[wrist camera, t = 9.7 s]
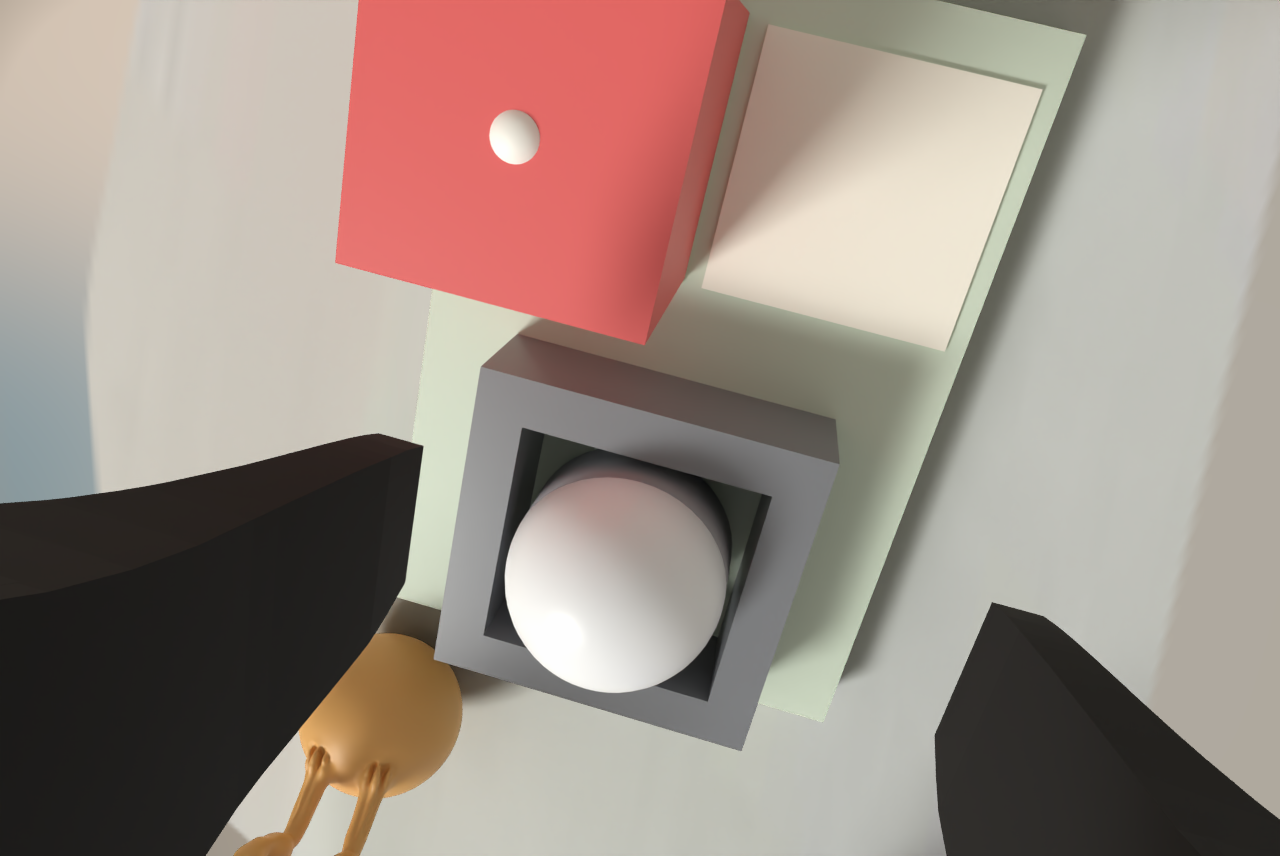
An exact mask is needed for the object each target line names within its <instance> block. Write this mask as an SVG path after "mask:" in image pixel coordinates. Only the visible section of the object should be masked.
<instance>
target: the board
mask: <svg viewBox="0 0 1280 856" xmlns="http://www.w3.org/2000/svg"><path fill="white" fill-rule="evenodd" d="M740 2H741V3H742V4H743V5H744V7H745V8H746V9H747V10H748V11H749V13H750V14H749V18H748V22H747V26H746V30H745V34H744V38H743V42H742V47H741V51H740V55H739V59H738V63H737V67H736V71H735V75H734V79H733V83H732V87H731V91H730V95H729V99H728V104H727V108H726V112H725V116H724V120H723V124H722V128H721V132H720V136H719V140H718V144H717V148H716V152H715V156H714V160H713V165H712V169H711V173H710V177H709V181H708V185H707V189H706V193H705V197H704V201H703V205H702V209H701V213H700V217H699V222H698V226H697V230H696V234H695V238H694V242H693V246H692V250H691V254H690V258H689V262H688V266H687V270H686V274H685V278H684V280H683V282H682V283H681V285H680V287H679V288H678V290H677V292H676V293H675V295H674V297H673V299H672V300H671V302H670V304H669V305H668V307H667V309H666V310H665V312H664V314H663V315H662V317H661V319H660V320H659V322H658V324H657V325H656V327H655V329H654V331H653V332H652V334H651V336H650V337H649V339H648V341H647V342H646V344H645V345H641V344H637V343H634V342H630V341H626V340H622V339H619V338H615V337H611V336H607V335H604V334H600V333H596V332H592V331H589V330H585V329H581V328H577V327H574V326H570V325H566V324H563V323H559V322H555V321H551V320H548V319H544V318H540V317H536V316H533V315H529V314H525V313H521V312H518V311H514V310H510V309H506V308H503V307H499V306H495V305H491V304H488V303H484V302H480V301H476V300H473V299H469V298H465V297H462V296H458V295H454V294H450V293H447V292H443V291H439V290H435V289H432V295H431V302H430V310H429V317H428V325H427V332H426V340H425V347H424V354H423V362H422V369H421V377H420V384H419V392H418V399H417V407H416V414H415V422H414V429H413V437H412V443H415V444H419V445H422V446H424V448H423V455H422V463H421V470H420V477H419V485H418V492H417V500H416V507H415V514H414V522H413V529H412V537H411V544H410V551H409V559H408V566H407V573H406V581H405V584H404V586H403V588H402V589H401V591H400V593H399V594H398V596H397V597H398V598H401V599H404V600H408V601H411V602H415V603H418V604H421V605H425V606H428V607H432V608H435V609H438V610H442V604H443V597H444V591H445V585H446V579H447V573H448V566H449V560H450V554H451V548H452V542H453V535H454V529H455V523H456V517H457V511H458V504H459V498H460V492H461V486H462V479H463V473H464V467H465V461H466V455H467V448H468V442H469V436H470V430H471V424H472V417H473V411H474V405H475V399H476V393H477V386H478V380H479V374H480V368H481V366H482V365H483V364H484V363H485V362H486V361H487V360H489V359H490V358H491V357H492V356H493V355H494V354H495V353H496V352H498V351H499V350H500V349H501V348H502V347H503V346H504V345H505V344H506V343H508V342H509V341H510V340H511V339H512V338H513V337H514V336H515V335H516V334H520V335H524V336H528V337H531V338H535V339H539V340H543V341H546V342H550V343H554V344H557V345H561V346H565V347H569V348H572V349H576V350H580V351H583V352H587V353H591V354H595V355H598V356H602V357H606V358H609V359H613V360H617V361H621V362H624V363H628V364H632V365H635V366H639V367H643V368H647V369H650V370H654V371H658V372H661V373H665V374H669V375H673V376H676V377H680V378H684V379H687V380H691V381H695V382H699V383H702V384H706V385H710V386H713V387H717V388H721V389H725V390H728V391H732V392H736V393H740V394H743V395H747V396H751V397H754V398H758V399H762V400H766V401H769V402H773V403H777V404H780V405H784V406H788V407H792V408H795V409H799V410H803V411H806V412H810V413H814V414H818V415H821V416H825V417H829V418H832V419H836V429H837V440H838V450H839V461H840V465H839V468H838V471H837V474H836V477H835V480H834V483H833V486H832V489H831V492H830V495H829V497H828V500H827V503H826V506H825V509H824V512H823V515H822V518H821V521H820V524H819V527H818V529H817V532H816V535H815V538H814V541H813V544H812V547H811V550H810V553H809V556H808V559H807V562H806V564H805V567H804V570H803V573H802V576H801V579H800V582H799V585H798V588H797V591H796V594H795V596H794V599H793V602H792V605H791V608H790V611H789V614H788V617H787V620H786V623H785V626H784V629H783V631H782V634H781V637H780V640H779V643H778V646H777V649H776V652H775V655H774V658H773V661H772V663H771V666H770V669H769V672H768V675H767V678H766V681H765V684H764V687H763V690H762V693H761V696H760V698H759V701H758V704H762V705H765V706H768V707H772V708H775V709H779V710H782V711H785V712H789V713H792V714H796V715H799V716H802V717H806V718H809V719H813V720H816V721H819V722H824V719H825V716H826V714H827V711H828V709H829V706H830V703H831V701H832V698H833V696H834V693H835V690H836V688H837V685H838V683H839V680H840V677H841V675H842V672H843V669H844V667H845V664H846V662H847V659H848V656H849V654H850V651H851V649H852V646H853V643H854V641H855V638H856V636H857V633H858V630H859V628H860V625H861V623H862V620H863V617H864V615H865V612H866V609H867V607H868V604H869V602H870V599H871V596H872V594H873V591H874V589H875V586H876V583H877V581H878V578H879V576H880V573H881V570H882V568H883V565H884V562H885V560H886V557H887V555H888V552H889V549H890V547H891V544H892V542H893V539H894V536H895V534H896V531H897V529H898V526H899V523H900V521H901V518H902V516H903V513H904V510H905V508H906V505H907V502H908V500H909V497H910V495H911V492H912V489H913V487H914V484H915V482H916V479H917V476H918V474H919V471H920V469H921V466H922V463H923V461H924V458H925V455H926V453H927V450H928V448H929V445H930V442H931V440H932V437H933V435H934V432H935V429H936V427H937V424H938V422H939V419H940V416H941V414H942V411H943V409H944V406H945V403H946V401H947V398H948V395H949V393H950V390H951V388H952V385H953V382H954V380H955V377H956V375H957V372H958V369H959V367H960V364H961V362H962V359H963V356H964V354H965V351H966V348H967V346H968V343H969V341H970V338H971V335H972V333H973V330H974V328H975V325H976V322H977V320H978V317H979V315H980V312H981V309H982V307H983V304H984V302H985V299H986V296H987V294H988V291H989V288H990V286H991V283H992V281H993V278H994V275H995V273H996V270H997V268H998V265H999V262H1000V260H1001V257H1002V255H1003V252H1004V249H1005V247H1006V244H1007V242H1008V239H1009V236H1010V234H1011V231H1012V228H1013V226H1014V223H1015V221H1016V218H1017V215H1018V213H1019V210H1020V208H1021V205H1022V202H1023V200H1024V197H1025V195H1026V192H1027V189H1028V187H1029V184H1030V181H1031V179H1032V176H1033V174H1034V171H1035V168H1036V166H1037V163H1038V161H1039V158H1040V155H1041V153H1042V150H1043V148H1044V145H1045V142H1046V140H1047V137H1048V135H1049V132H1050V129H1051V127H1052V124H1053V121H1054V119H1055V116H1056V114H1057V111H1058V108H1059V106H1060V103H1061V101H1062V98H1063V95H1064V93H1065V90H1066V88H1067V85H1068V82H1069V80H1070V77H1071V74H1072V72H1073V69H1074V67H1075V64H1076V61H1077V59H1078V56H1079V54H1080V51H1081V48H1082V46H1083V43H1084V41H1085V38H1086V35H1085V34H1080V33H1076V32H1072V31H1068V30H1063V29H1059V28H1055V27H1050V26H1046V25H1042V24H1038V23H1033V22H1029V21H1025V20H1020V19H1016V18H1012V17H1008V16H1003V15H999V14H995V13H990V12H986V11H982V10H977V9H973V8H969V7H965V6H960V5H956V4H952V3H947V2H943V1H939V0H740ZM596 449H598V448H595V447H591V446H587V445H584V444H580V443H576V442H573V441H569V440H566V439H562V438H558V437H555V436H551V435H548V434H544V439H543V444H542V449H541V454H540V459H539V464H538V469H537V474H536V479H535V484H534V490H533V495H532V500H531V505H530V507H531V506H532V504H533V503H534V501H535V499H536V498H537V496H538V495H539V493H540V492H541V490H542V488H543V487H544V485H545V484H546V482H547V481H548V480H549V478H550V477H551V476H552V475H553V474H554V473H555V472H556V471H557V470H558V469H559V468H560V467H562V466H563V465H564V464H565V463H567V462H569V461H570V460H572V459H573V458H575V457H577V456H579V455H582V454H584V453H586V452H589V451H593V450H596ZM701 478H702V479H703V480H704V481H705V482H706V483H707V484H708V485H709V486H710V487H711V489H712V490H713V491H714V493H715V494H716V495H717V497H718V498H719V500H720V502H721V504H722V506H723V508H724V510H725V513H726V515H727V518H728V520H729V525H730V529H731V535H732V556H731V563H730V570H729V576H728V583H727V590H726V596H725V601H724V605H723V610H722V613H721V617H720V619H719V622H718V624H717V627H716V629H715V631H714V632H713V634H712V636H716V637H718V635H719V631H720V628H721V625H722V622H723V619H724V615H725V612H726V609H727V606H728V602H729V599H730V596H731V593H732V589H733V586H734V583H735V580H736V577H737V573H738V570H739V567H740V564H741V560H742V557H743V554H744V551H745V548H746V544H747V541H748V538H749V535H750V531H751V528H752V525H753V522H754V518H755V515H756V512H757V509H758V506H759V502H760V499H761V496H762V494H761V493H757V492H754V491H750V490H746V489H743V488H739V487H735V486H732V485H728V484H725V483H721V482H717V481H714V480H710V479H707V478H703V477H701Z"/></svg>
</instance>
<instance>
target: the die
mask: <svg viewBox="0 0 1280 856" xmlns="http://www.w3.org/2000/svg"><path fill="white" fill-rule="evenodd" d="M749 14H750V13H749V11H748V10H747V9H746V8H745V7H744V5H743V4H742V3H741V2H740V0H359V3H358V14H357V26H356V37H355V48H354V59H353V70H352V82H351V93H350V104H349V115H348V126H347V137H346V149H345V160H344V171H343V182H342V193H341V204H340V216H339V227H338V238H337V249H336V260H335V263H338V264H342V265H346V266H349V267H353V268H357V269H360V270H364V271H368V272H372V273H375V274H379V275H383V276H387V277H390V278H394V279H398V280H402V281H405V282H409V283H413V284H417V285H420V286H424V287H428V288H432V289H435V290H439V291H443V292H447V293H450V294H454V295H458V296H462V297H465V298H469V299H473V300H476V301H480V302H484V303H488V304H491V305H495V306H499V307H503V308H506V309H510V310H514V311H518V312H521V313H525V314H529V315H533V316H536V317H540V318H544V319H548V320H551V321H555V322H559V323H563V324H566V325H570V326H574V327H577V328H581V329H585V330H589V331H592V332H596V333H600V334H604V335H607V336H611V337H615V338H619V339H622V340H626V341H630V342H634V343H637V344H641V345H645V344H646V342H647V341H648V339H649V337H650V336H651V334H652V332H653V331H654V329H655V327H656V325H657V324H658V322H659V320H660V319H661V317H662V315H663V314H664V312H665V310H666V309H667V307H668V305H669V304H670V302H671V300H672V299H673V297H674V295H675V293H676V292H677V290H678V288H679V287H680V285H681V283H682V282H683V280H684V278H685V274H686V270H687V266H688V262H689V258H690V254H691V250H692V246H693V242H694V238H695V234H696V230H697V226H698V222H699V217H700V213H701V209H702V205H703V201H704V197H705V193H706V189H707V185H708V181H709V177H710V173H711V169H712V165H713V160H714V156H715V152H716V148H717V144H718V140H719V136H720V132H721V128H722V124H723V120H724V116H725V112H726V108H727V104H728V99H729V95H730V91H731V87H732V83H733V79H734V75H735V71H736V67H737V63H738V59H739V55H740V51H741V47H742V42H743V38H744V34H745V30H746V26H747V22H748V18H749Z"/></svg>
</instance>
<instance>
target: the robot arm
mask: <svg viewBox="0 0 1280 856" xmlns="http://www.w3.org/2000/svg"><path fill="white" fill-rule="evenodd" d="M423 448H424V446H422V445H419V444H415V443H411V442H408V441H404V440H400V439H397V438H393V437H390V436H386V435H382V434H379V433H378V434H370V435H363V436H358V437H353V438H348V439H344V440H340V441H336V442H332V443H328V444H324V445H320V446H316V447H312V448H309V449H305V450H301V451H297V452H293V453H289V454H286V455H282V456H278V457H274V458H270V459H266V460H263V461H259V462H255V463H251V464H247V465H243V466H239V467H234V468H230V469H225V470H221V471H216V472H212V473H207V474H203V475H198V476H194V477H189V478H185V479H180V480H175V481H171V482H166V483H161V484H156V485H150V486H145V487H139V488H133V489H127V490H121V491H114V492H107V493H99V494H92V495H85V496H78V497H70V498H62V499H52V500H42V501H28V502H15V503H2V504H0V856H206V854H207V853H208V851H209V850H210V848H211V847H212V845H213V844H214V842H215V841H216V839H217V837H218V836H219V834H220V833H221V831H222V830H223V828H224V827H225V825H226V824H227V822H228V821H229V819H230V818H231V816H232V815H233V813H234V812H235V810H236V809H237V807H238V806H239V805H240V803H241V802H242V801H243V799H244V798H245V797H246V795H247V794H248V793H249V791H250V790H251V789H252V787H253V786H254V785H255V783H256V782H257V781H258V779H259V778H260V777H261V775H262V774H263V773H264V772H265V771H266V769H267V768H268V767H269V766H270V764H271V763H272V762H273V761H274V760H275V758H276V757H277V756H278V755H279V753H280V752H281V751H282V750H283V749H284V747H285V746H286V745H287V744H288V742H289V741H290V740H291V739H292V738H293V736H294V735H295V734H296V733H297V732H298V730H299V729H300V728H301V727H302V725H303V724H304V723H305V722H306V721H307V719H308V718H309V717H310V716H311V715H312V713H313V712H314V711H315V710H316V708H317V707H318V706H319V705H320V704H321V702H322V701H323V700H324V699H325V697H326V696H327V695H328V694H329V693H330V691H331V690H332V689H333V688H334V686H335V685H336V684H337V683H338V682H339V680H340V679H341V678H342V677H343V675H344V674H345V673H346V672H347V670H348V669H349V668H350V667H351V665H352V664H353V663H354V662H355V660H356V659H357V658H358V657H359V655H360V654H361V653H362V652H363V650H364V649H365V648H366V646H367V645H368V644H369V643H370V641H371V639H372V638H373V636H374V634H375V633H376V631H377V630H378V628H379V626H380V625H381V623H382V622H383V620H384V618H385V617H386V615H387V613H388V612H389V610H390V608H391V606H392V605H393V603H394V601H395V600H396V598H397V596H398V594H399V593H400V591H401V589H402V588H403V586H404V584H405V581H406V573H407V566H408V559H409V551H410V544H411V537H412V529H413V522H414V514H415V507H416V500H417V492H418V485H419V477H420V470H421V463H422V455H423ZM935 759H936V783H937V797H938V811H939V817H940V823H941V828H942V834H943V839H944V844H945V849H946V854H947V856H1280V819H1278V818H1277V817H1276V816H1274V815H1273V814H1272V813H1271V812H1269V811H1268V810H1267V809H1266V808H1264V807H1263V806H1262V805H1260V804H1259V803H1258V802H1257V801H1255V800H1254V799H1253V798H1252V797H1251V796H1249V795H1248V794H1247V793H1246V792H1245V791H1243V790H1242V789H1241V788H1240V787H1239V786H1237V785H1236V784H1235V783H1234V782H1233V781H1231V780H1230V779H1229V778H1228V777H1227V776H1225V775H1224V774H1223V773H1222V772H1221V771H1219V770H1218V769H1217V768H1216V767H1215V766H1213V765H1212V764H1211V763H1210V762H1209V761H1208V760H1206V759H1205V758H1204V757H1203V756H1202V755H1201V754H1199V753H1198V752H1197V751H1196V750H1195V749H1194V748H1193V747H1191V746H1190V745H1189V744H1188V743H1187V742H1186V741H1185V740H1183V739H1182V738H1181V737H1180V736H1179V735H1178V734H1177V733H1175V732H1174V731H1173V730H1172V729H1171V728H1170V727H1169V726H1168V725H1167V724H1165V723H1164V722H1163V721H1162V720H1161V719H1160V718H1159V717H1158V716H1157V715H1155V714H1154V713H1153V712H1152V711H1151V710H1150V709H1149V708H1148V707H1147V706H1146V705H1145V704H1143V703H1142V702H1141V701H1140V700H1139V699H1138V698H1137V697H1136V696H1135V695H1134V694H1133V693H1131V692H1130V691H1129V690H1128V689H1127V688H1126V687H1125V686H1124V685H1123V684H1122V683H1121V682H1120V681H1118V680H1117V679H1116V678H1115V677H1114V676H1113V675H1112V674H1111V673H1110V672H1109V671H1108V670H1107V669H1105V668H1104V667H1103V666H1102V665H1101V664H1100V663H1099V662H1098V661H1097V660H1096V659H1095V658H1094V657H1092V656H1091V655H1090V654H1089V653H1088V652H1087V651H1086V650H1085V649H1083V648H1082V647H1081V646H1080V645H1079V644H1078V643H1077V642H1076V641H1074V640H1073V639H1072V638H1071V637H1070V636H1069V635H1067V634H1066V633H1065V632H1064V631H1063V630H1061V629H1060V628H1059V627H1058V626H1056V625H1055V624H1054V623H1052V622H1051V621H1049V620H1048V619H1047V618H1045V617H1044V616H1040V615H1037V614H1033V613H1029V612H1026V611H1022V610H1019V609H1015V608H1011V607H1008V606H1004V605H1000V604H997V603H993V602H992V604H991V606H990V609H989V611H988V613H987V615H986V618H985V620H984V622H983V625H982V627H981V629H980V632H979V634H978V636H977V639H976V641H975V643H974V646H973V648H972V650H971V652H970V655H969V657H968V659H967V662H966V664H965V666H964V669H963V671H962V673H961V676H960V678H959V680H958V683H957V685H956V687H955V689H954V692H953V694H952V696H951V699H950V701H949V703H948V706H947V708H946V710H945V713H944V715H943V717H942V720H941V722H940V724H939V726H938V729H937V731H936V733H935Z"/></svg>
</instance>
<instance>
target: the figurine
mask: <svg viewBox="0 0 1280 856" xmlns="http://www.w3.org/2000/svg"><path fill="white" fill-rule="evenodd" d="M434 653H435V649H433V648H432V647H431V646H429V645H428V644H426V643H424V642H422V641H420V640H418V639H416V638H413V637H410V636H406V635H402V634H394V633H380V634H374V636H373V638H372V639H371V641H370V643H369V644H368V645H367V646H366V648H365V649H364V650H363V652H362V653H361V654H360V655H359V657H358V658H357V659H356V660H355V662H354V663H353V664H352V665H351V667H350V668H349V669H348V670H347V672H346V673H345V674H344V675H343V677H342V678H341V679H340V680H339V682H338V683H337V684H336V685H335V686H334V688H333V689H332V690H331V691H330V693H329V694H328V695H327V696H326V697H325V699H324V700H323V701H322V702H321V704H320V705H319V706H318V707H317V708H316V710H315V711H314V712H313V713H312V715H311V716H310V717H309V718H308V719H307V721H306V722H305V723H304V724H303V725H302V727H301V728H300V729H299V735H300V741H301V744H302V748H303V751H304V753H305V755H306V757H307V759H306V762H305V768H306V774H305V779H304V783H303V786H302V788H301V791H300V793H299V796H298V798H297V801H296V803H295V806H294V808H293V811H292V813H291V816H290V819H289V821H288V824H287V826H286V829H285V831H284V833H279V832H276V833H270V834H267V835H265V836H264V837H257V838H255V839H253V840H252V841H250V842H248V843H247V844H245V845H243V846H242V847H240V848H239V849H238V850H237V851H236V852H235V854H234V855H233V856H291V854H292V851H293V849H294V847H295V846H296V845H297V844H298V843H299V842H300V840H301V839H302V837H303V835H304V833H305V831H306V829H307V827H308V825H309V823H310V821H311V818H312V816H313V814H314V812H315V810H316V807H317V805H318V803H319V801H320V799H321V797H322V795H323V792H324V790H325V789H326V787H327V786H328V785H331V786H332V787H334V788H336V789H337V790H339V791H341V792H344V793H346V794H349V795H352V796H356V797H358V801H357V804H356V807H355V811H354V814H353V817H352V820H351V823H350V826H349V829H348V831H347V834H346V837H345V840H344V845H343V849H342V852H341V853H338V854H336V855H334V856H359V855H360V853H361V851H362V849H363V847H364V844H365V842H366V839H367V837H368V834H369V831H370V829H371V826H372V824H373V821H374V818H375V816H376V813H377V810H378V808H379V805H380V803H381V801H382V799H383V798H386V797H392V796H396V795H399V794H402V793H405V792H407V791H409V790H411V789H413V788H415V787H417V786H419V785H420V784H422V783H423V782H425V781H426V780H427V779H429V778H430V777H431V776H432V775H433V774H434V773H435V772H436V771H437V770H438V769H439V768H440V767H441V766H442V764H443V763H444V762H445V761H446V759H447V758H448V756H449V754H450V753H451V751H452V749H453V747H454V745H455V743H456V740H457V738H458V735H459V731H460V727H461V721H462V697H461V691H460V687H459V684H458V681H457V679H456V676H455V674H454V672H453V671H452V669H451V667H450V666H449V664H447V663H444V662H441V661H437V660H434Z"/></svg>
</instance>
